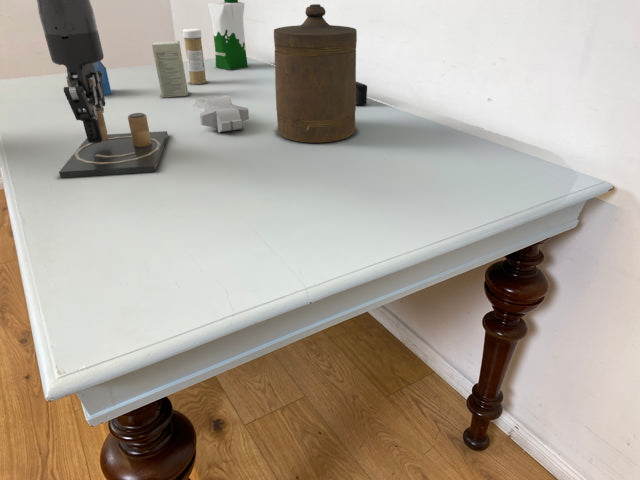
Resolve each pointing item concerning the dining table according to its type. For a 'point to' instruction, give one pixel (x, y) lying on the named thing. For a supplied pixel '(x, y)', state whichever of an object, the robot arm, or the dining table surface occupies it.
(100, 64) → the perfume bottle
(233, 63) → the milk carton
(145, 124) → the peg right
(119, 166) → the slate board
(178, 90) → the cosmetic box
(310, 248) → the dining table surface
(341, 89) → the wooden container
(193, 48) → the sprinkles bottle
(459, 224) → the dining table surface
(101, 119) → the peg left
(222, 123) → the grey angular block
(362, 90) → the mobile phone
